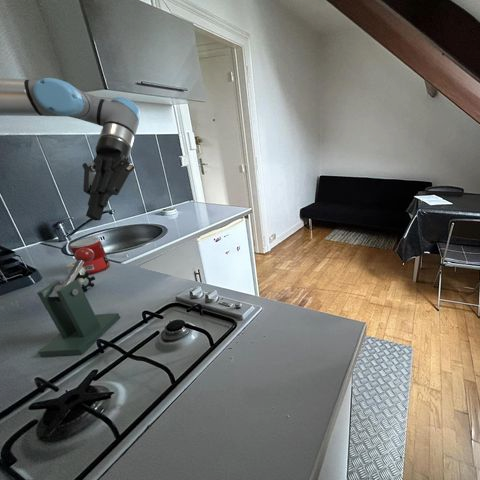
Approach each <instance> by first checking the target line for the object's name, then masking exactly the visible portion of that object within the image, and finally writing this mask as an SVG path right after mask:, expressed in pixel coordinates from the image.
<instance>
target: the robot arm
mask: <svg viewBox="0 0 480 480" xmlns="http://www.w3.org/2000/svg"><path fill="white" fill-rule="evenodd" d="M0 116H4V117H5V116H6V117H7V116H8V117H11V116H13V117H14V116H16V117H22V116H23V117H25V116H26V117H67V118H68V117H69V118H73V119H78V120H81V121H84V122H87V123H91V124H94V125H98V126H100V127H102V128H101V131H100V134H99V137H98V140H97V143H96V146H95V153H96V155H95V157H94V158H93V160H92V162H90V163H86V162H84V163H82V168H83V189H82V191H83V193H85V194H87V195H88V196H89V198H88V202H87V206H88V207H87V211H86V213H85V216H86V217H87V218H89V219H91V220H93V221H96V222H97V221H101V220H102V217H103V213H104V210H105V208H107V206H108V202H109V200H110V198H111V197H112V196H118V195H119V194H120V192H121V190H122V188H123V186H124V185H125V182H126V181H127V179H128V177H129V176H130V174H131V172H133V170H135V165H133V163H131V162H130V161H129V160H130V156H131V153H132V148H133V145H134V141H135V137H136V134H137V131H138V127H139V124H140V119H141V110H140V108H139V107H138V105H137V104H136V103H135V102H133V101H132V100H131V99H128V98H126V97H124V96H123V97H118V96H116V97H114V98H112V99H111V100H107V99H104V98H101V97H98V96H95V95H93V94H90V93H87V92H85V91H82V90H80V89H79V88H77V87H75V86H74V85H72V84H71V83H69V82H67V81H64V80H62V79H59V78H53V77H44V78H40V79H27V78H11V77H10V78H9V77H0Z"/></svg>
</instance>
